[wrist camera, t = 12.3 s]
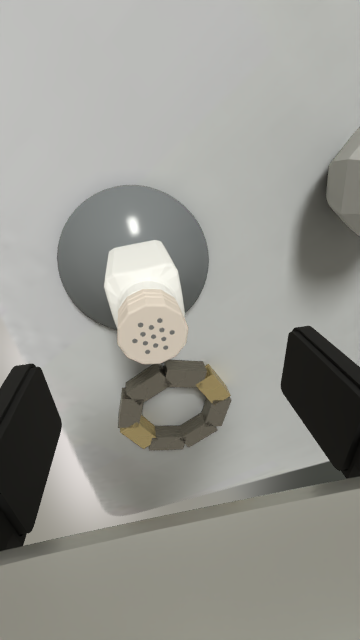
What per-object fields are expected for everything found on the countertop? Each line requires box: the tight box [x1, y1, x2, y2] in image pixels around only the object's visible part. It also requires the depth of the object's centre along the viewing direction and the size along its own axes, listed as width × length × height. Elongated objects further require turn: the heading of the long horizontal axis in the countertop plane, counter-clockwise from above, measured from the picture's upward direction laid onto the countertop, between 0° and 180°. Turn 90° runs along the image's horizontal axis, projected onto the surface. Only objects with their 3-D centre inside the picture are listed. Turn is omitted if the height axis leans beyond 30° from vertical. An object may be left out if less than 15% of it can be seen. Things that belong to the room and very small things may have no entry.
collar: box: [118, 360, 231, 450], centre depth 28 cm, size 11×11×2 cm
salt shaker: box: [104, 240, 188, 364], centre depth 16 cm, size 4×4×10 cm
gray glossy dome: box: [57, 185, 209, 329], centre depth 20 cm, size 11×11×1 cm
